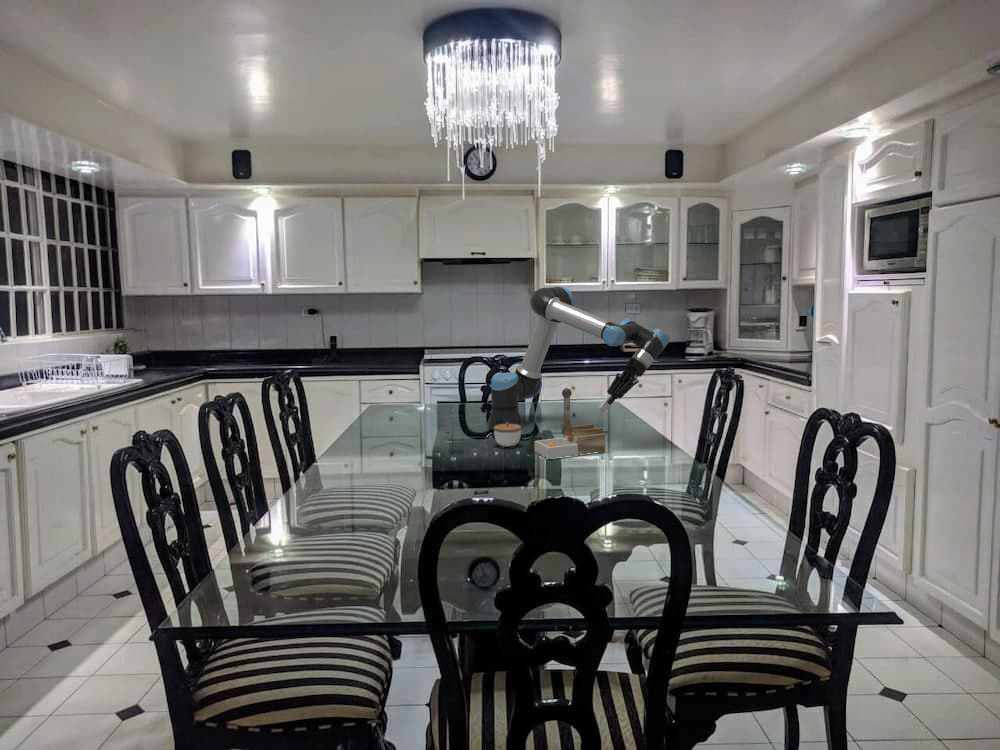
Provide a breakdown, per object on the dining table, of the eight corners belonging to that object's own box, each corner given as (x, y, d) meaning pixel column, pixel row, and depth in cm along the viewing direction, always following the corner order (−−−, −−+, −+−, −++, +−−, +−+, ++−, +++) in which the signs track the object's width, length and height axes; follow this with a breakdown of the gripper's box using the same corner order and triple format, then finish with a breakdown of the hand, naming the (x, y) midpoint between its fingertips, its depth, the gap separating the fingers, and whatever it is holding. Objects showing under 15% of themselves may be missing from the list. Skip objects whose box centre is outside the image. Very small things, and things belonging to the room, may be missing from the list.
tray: (534, 452, 276) (534, 440, 276) (562, 448, 281) (562, 437, 280) (549, 460, 266) (548, 448, 265) (577, 456, 270) (577, 444, 269)
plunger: (559, 433, 275) (559, 387, 273) (568, 432, 277) (568, 386, 274) (565, 436, 271) (565, 389, 268) (574, 435, 273) (574, 388, 270)
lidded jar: (498, 450, 281) (497, 426, 279) (491, 443, 291) (490, 420, 289) (524, 447, 284) (524, 424, 282) (516, 441, 294) (516, 418, 292)
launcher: (563, 449, 281) (563, 426, 279) (590, 445, 285) (590, 423, 284) (577, 455, 271) (577, 432, 269) (605, 452, 275) (605, 428, 274)
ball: (554, 448, 275) (546, 454, 274) (550, 440, 274) (541, 445, 273) (559, 451, 271) (551, 457, 270) (555, 442, 270) (546, 448, 269)
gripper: (654, 371, 278) (616, 418, 274) (635, 367, 290) (599, 412, 286) (643, 358, 275) (604, 406, 271) (624, 355, 287) (587, 400, 283)
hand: (601, 409), depth 278 cm, fingers closed
